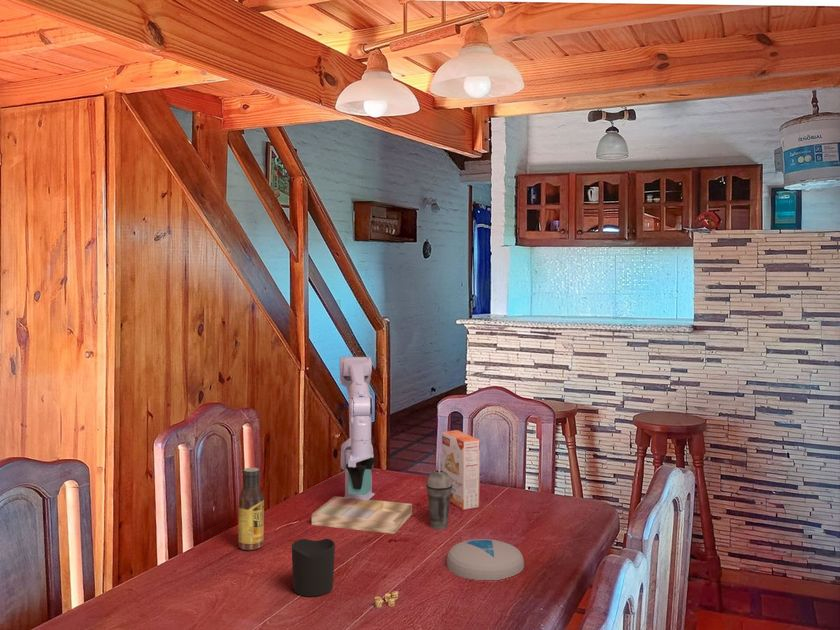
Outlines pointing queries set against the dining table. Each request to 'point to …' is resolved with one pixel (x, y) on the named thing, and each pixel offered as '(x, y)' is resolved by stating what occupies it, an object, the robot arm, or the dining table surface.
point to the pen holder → (313, 566)
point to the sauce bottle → (251, 512)
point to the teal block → (365, 484)
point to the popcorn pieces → (387, 599)
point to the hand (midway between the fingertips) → (360, 486)
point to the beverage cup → (439, 497)
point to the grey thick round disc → (485, 559)
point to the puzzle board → (366, 522)
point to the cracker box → (462, 467)
